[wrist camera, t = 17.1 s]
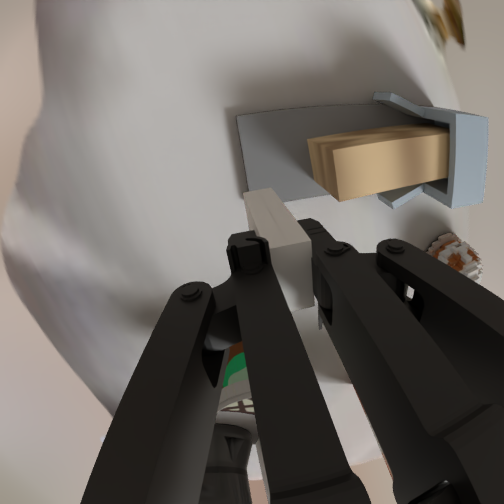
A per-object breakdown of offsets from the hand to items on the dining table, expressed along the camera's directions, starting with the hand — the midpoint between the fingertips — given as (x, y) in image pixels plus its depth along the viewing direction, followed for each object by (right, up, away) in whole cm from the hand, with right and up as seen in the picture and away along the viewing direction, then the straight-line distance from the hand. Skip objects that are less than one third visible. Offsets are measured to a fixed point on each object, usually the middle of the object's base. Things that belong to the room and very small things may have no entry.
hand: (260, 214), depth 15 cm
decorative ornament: (+26, -3, +19) cm, 32 cm away
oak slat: (+12, +8, +10) cm, 17 cm away
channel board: (+10, +8, +10) cm, 16 cm away
